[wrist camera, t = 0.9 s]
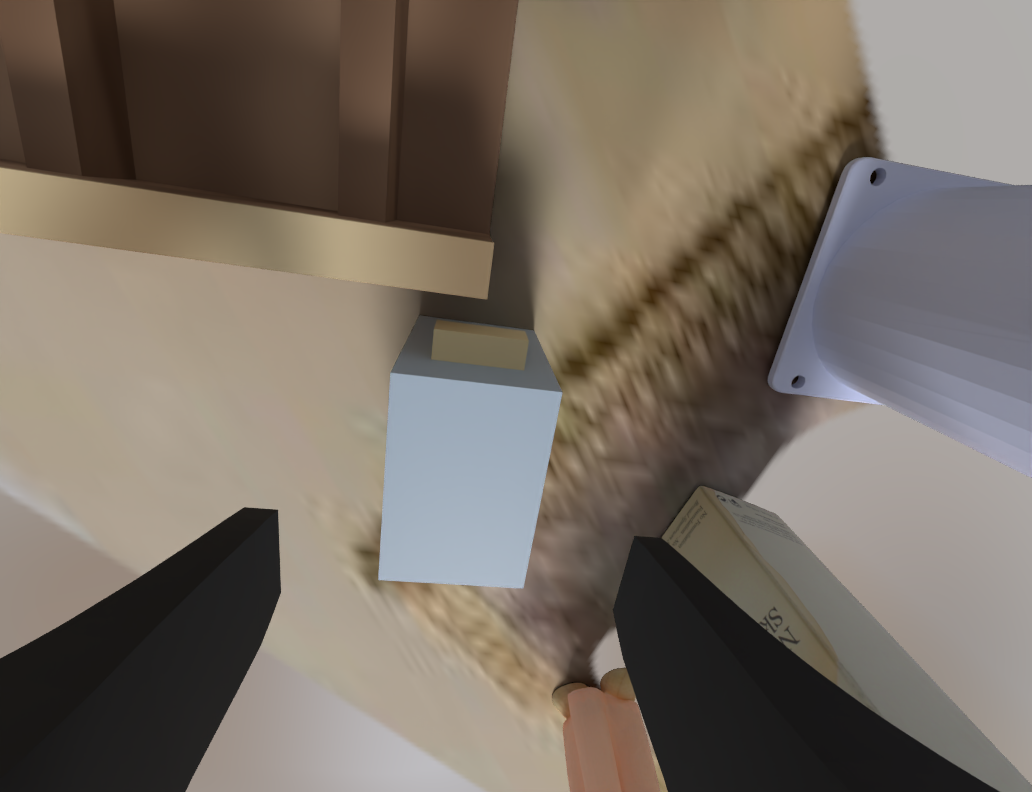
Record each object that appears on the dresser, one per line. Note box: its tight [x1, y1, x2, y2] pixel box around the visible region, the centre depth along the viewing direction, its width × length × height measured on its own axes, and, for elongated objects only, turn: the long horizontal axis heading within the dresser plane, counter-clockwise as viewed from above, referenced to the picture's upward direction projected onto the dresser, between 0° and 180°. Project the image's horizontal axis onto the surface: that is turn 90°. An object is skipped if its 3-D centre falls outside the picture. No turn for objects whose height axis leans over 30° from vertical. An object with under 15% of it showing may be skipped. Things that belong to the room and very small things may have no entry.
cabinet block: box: [378, 315, 562, 588], centre depth 15 cm, size 4×7×6 cm, turn 171°
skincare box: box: [662, 486, 1032, 792], centre depth 16 cm, size 6×4×12 cm
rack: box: [0, 0, 518, 299], centre depth 11 cm, size 14×10×5 cm
